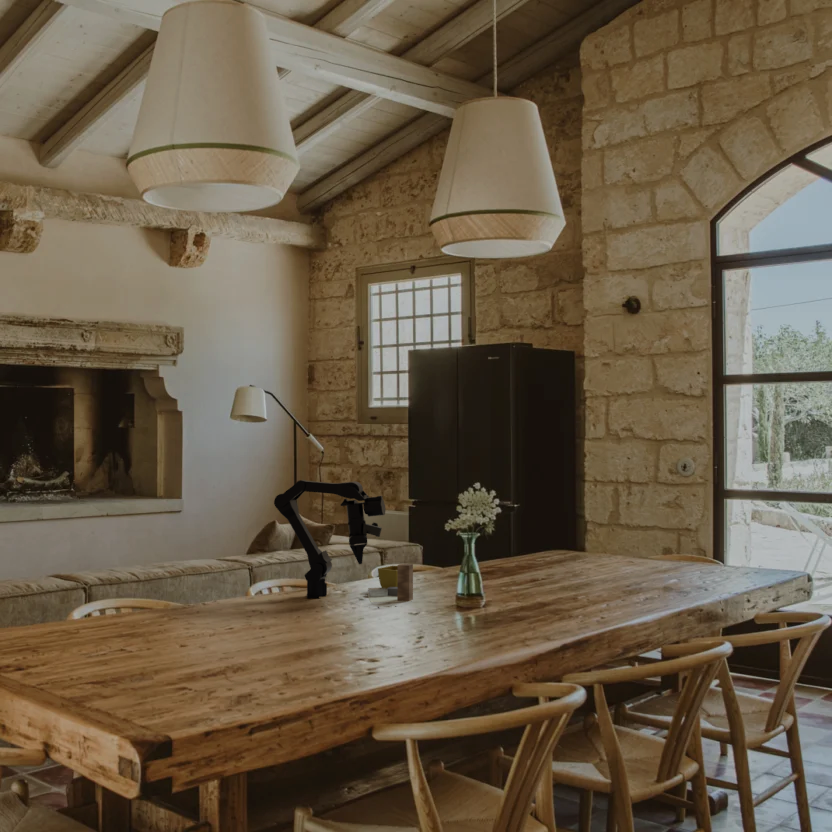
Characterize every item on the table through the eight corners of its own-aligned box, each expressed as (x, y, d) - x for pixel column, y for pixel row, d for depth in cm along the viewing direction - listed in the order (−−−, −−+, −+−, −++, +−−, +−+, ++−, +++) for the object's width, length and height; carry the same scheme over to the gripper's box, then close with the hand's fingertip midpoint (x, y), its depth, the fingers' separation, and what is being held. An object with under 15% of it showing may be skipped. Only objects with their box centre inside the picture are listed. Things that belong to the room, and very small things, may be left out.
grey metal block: (370, 597, 347) (370, 589, 347) (368, 595, 351) (368, 588, 351) (387, 596, 349) (387, 589, 349) (384, 594, 353) (384, 587, 353)
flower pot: (396, 595, 354) (396, 570, 354) (377, 593, 359) (377, 568, 359) (411, 592, 361) (411, 567, 361) (392, 590, 366) (392, 565, 366)
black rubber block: (386, 595, 350) (386, 588, 350) (389, 593, 354) (389, 586, 354) (400, 596, 349) (400, 589, 349) (403, 594, 353) (403, 587, 353)
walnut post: (397, 600, 340) (397, 565, 340) (401, 598, 344) (401, 563, 344) (409, 601, 339) (409, 565, 339) (412, 599, 343) (412, 564, 343)
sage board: (370, 603, 337) (370, 602, 337) (367, 596, 353) (367, 594, 353) (411, 603, 339) (411, 601, 339) (407, 595, 354) (407, 593, 354)
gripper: (379, 517, 340) (384, 563, 339) (378, 513, 358) (382, 557, 358) (346, 520, 339) (351, 566, 339) (347, 517, 358) (351, 560, 357)
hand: (360, 562), depth 348 cm, fingers open, 9 cm apart
